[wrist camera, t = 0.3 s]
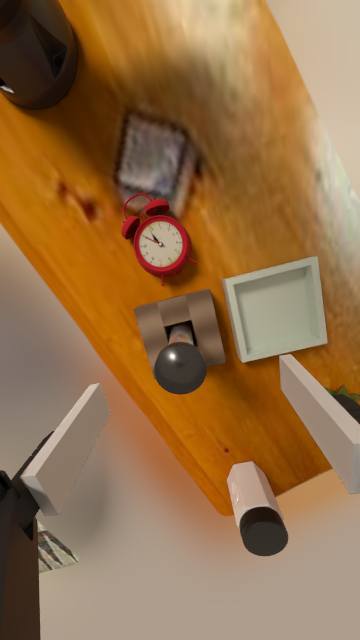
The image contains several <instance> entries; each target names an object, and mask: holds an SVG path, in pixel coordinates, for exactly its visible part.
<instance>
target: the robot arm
mask: <svg viewBox="0 0 360 640" xmlns="http://www.w3.org/2000/svg"><path fill="white" fill-rule="evenodd" d="M76 69H77V46H76V41H75V37H74V34H73V31H72V28H71V26H70V24H69V22H68V19H67V17H66V15H65V13H64V11H63V8H62V7H61V5H60V3H59V1H58V0H0V92H1V93H2V94H3V95H4V96H5V97H7V98H8V99H9V100H10V101H12V102H14V103H15V104H17V105H19V106H22V107H25V108H29V109H44V108H47V107H50V106H52V105H54V104H56V103H57V102H59V101H60V100H61V99H62V98H63V97H64V96H65V95H66V94H67V92H68V91H69V89H70V87H71V85H72V83H73V81H74V78H75V74H76ZM279 363H280V378H281V390H282V391H283V393H284V394H285V396H286V397H287V399H288V400H289V402H290V403H291V405H292V407H293V408H294V410H295V411H296V413H297V414H298V416H299V417H300V419H301V420H302V422H303V423H304V425H305V426H306V428H307V429H308V431H309V432H310V434H311V435H312V437H313V439H314V440H315V442H316V443H317V445H318V446H319V448H320V449H321V451H322V452H323V454H324V455H325V457H326V458H327V460H328V461H329V463H330V464H331V466H332V467H333V469H334V471H335V472H336V473H337V475H338V477H339V478H340V480H341V481H342V483H343V484H344V486H345V487H346V489H347V490H348V492H349V493H350V494H357V493H360V405H359V404H357V403H356V402H355V401H354V400H353V399H351V398H349V397H347V396H345V395H343V394H337V395H330V394H329V393H328V392H327V391H326V390H325V389H324V388H323V387H322V386H321V384H320V383H319V382H318V381H317V380H316V379H315V378H314V377H313V376H312V375H311V374H310V373H309V372H308V371H307V370H306V369H305V368H304V367H303V366H302V365H301V364H300V363H299V362H298V361H297V360H296V359H295V358H294V357H293V356H292V355H291V354H288V355H281V356H279ZM110 413H111V411H110V408H109V406H108V403H107V401H106V398H105V396H104V393H103V390H102V388H101V385H100V383H99V384H92V385H90V386H89V387H88V388H87V390H86V391H85V393H84V394H83V395H82V396H81V398H80V399H79V400H78V401H77V403H76V404H75V405H74V407H73V408H72V409H71V411H70V412H69V414H68V415H67V416H66V417H65V418H64V420H63V421H62V422H61V424H60V425H59V426H58V428H57V429H56V430H55V431H52V432H51V433H50V434H49V435H48V436H47V437H45V438H44V439H43V441H42V442H41V443H40V444H39V446H38V447H37V449H36V450H35V451H34V452H33V453H32V456H30V457H29V458H28V460H27V461H26V462H25V463H24V465H23V466H22V467H21V468H20V470H19V471H18V472H17V473H16V475H15V476H14V477H13V479H12V480H10V478H9V477H8V475H7V474H6V472H5V471H2V470H1V471H0V640H40V607H39V565H38V526H37V519H36V518H35V515H36V513H37V512H38V510H39V509H41V511H42V512H43V514H44V516H54V515H59V514H60V512H61V510H62V508H63V506H64V504H65V502H66V500H67V498H68V496H69V494H70V492H71V490H72V488H73V486H74V484H75V482H76V480H77V479H78V477H79V475H80V473H81V471H82V469H83V466H84V464H85V463H86V461H87V459H88V456H89V455H90V453H91V451H92V449H93V447H94V445H95V443H96V441H97V439H98V437H99V435H100V433H101V431H102V429H103V427H104V425H105V423H106V421H107V419H108V417H109V415H110Z"/></svg>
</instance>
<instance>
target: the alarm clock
mask: <svg viewBox="0 0 360 640" xmlns="http://www.w3.org/2000/svg"><path fill="white" fill-rule="evenodd" d="M139 195H144V196H146V197H147V198H148V199H149V200H150V201H151V202H149V203H148V204H147V205H146V208H145V211H146V214H147V215H150V218H148V219H146V220H145V218H144V215H143V214H142V215H141V217H143V219H144V220H145V221H144V222H142V223H141V224H140V219H139V218H138V217H136V216H131V217H129V218H128V219H127V217H126V215H125V206H126V205H127V203H128V202H129V201H130V200H131V199H133V198H134V197H136V196H139ZM159 208H160V209H163V210H164V213H165V212H167V211H168V210H169V204H168V202H167V201H166V200H164V199H157V200H156V198H154V200H153V201H152V200H151V198H150V197H148V196H147V195H146V194H142V193H140V194H136V195H134V196H133V197H131V198H130V199H129V200H128V201H127V202H126V203H125V205H124V207H123V213H124V216H125V218H126V221H125V222H124V221H123V223H124V225H123V227H122V236H123V237H124V238H125V239H130V238H131V237H132V235H130V230H131V228H132V227H133V226H138V229H137V231H136V233H135V237H134V250H135V254H136V257H137V260H138V262H139V263H140V265H141V266H142V267H143V268H144V269H145V270H146V271H148V272H149V273H151V274H154V275H157V276H162V286H164V284H163V276H169V275H173V274H175V273H177V274H178V273H180V272H181V269H182V268H183V267H184V266H185V264H186V263H187V261H188V259H189V260H191V261H193V262H195V261H194V260H192V259H191V258H189V256H190V251H191V243H190V238H189V235H188V233H187V231H186V230H185V228H184V227H183V226H182V225H181V224H180V223H179V222H177V221H176V220H175V219H173V218H171V217H168V216H164V215H157V216H154V214H153V213H154V211H155V210H156V209H159ZM151 216H152V217H151ZM139 224H140V226H139ZM195 264H197V261H196V262H195Z"/></svg>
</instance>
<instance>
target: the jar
mask: <svg viewBox="0 0 360 640" xmlns="http://www.w3.org/2000/svg"><path fill="white" fill-rule="evenodd" d="M227 483H228V487H229V492H230V496H231V501H232V505H233V510H234V514H235V519H236V523H237V526H238V527H239V528H240V532H241V537H242V540H243V543H244V546H245V547H246V549H247V550H248V551H249V552H251V553H253V554H255V555H258V556H271V555H274V554H277V553H278V552H280V551H282V550H283V549H284V548H285V546H286V544H287V542H288V533H287V531H286V528H285V526H284V523H283V516H282V513H281V511H280V509H279V506H278V504H277V501H276V499H275V497H274V494H273V492H272V490H271V487H270V485H269V482H268V480H267V478H266V475H265V473H264V472H263V471H262V470H261V469H260V468H259V467H258V466H257V465H256V464H255V463H254V462H253V461H249V462H244V463H238V464H233V466H232V469H231V471H230V473H229V476H228V478H227Z"/></svg>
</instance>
